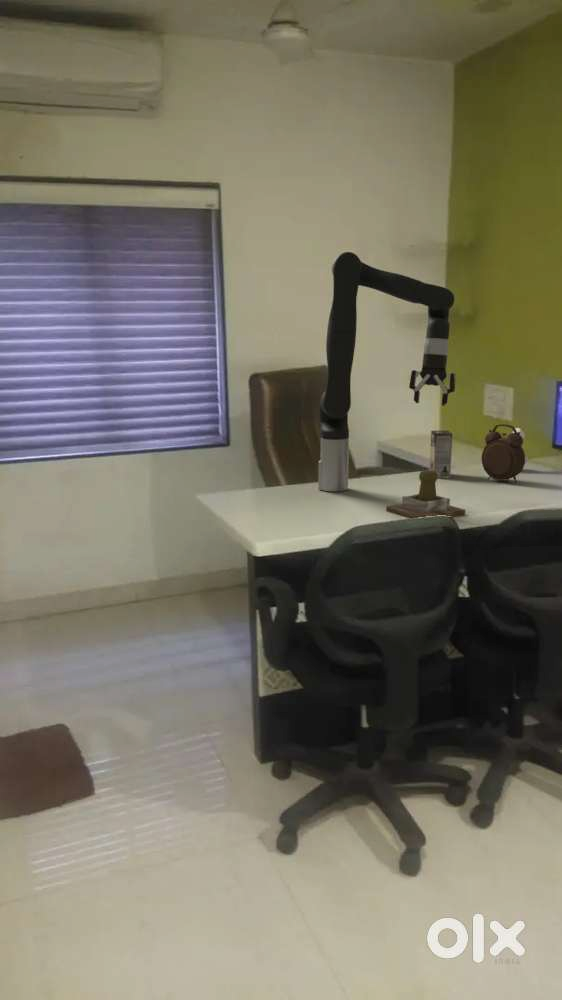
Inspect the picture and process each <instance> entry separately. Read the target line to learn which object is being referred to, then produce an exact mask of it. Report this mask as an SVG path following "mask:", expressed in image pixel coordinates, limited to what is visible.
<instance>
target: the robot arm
mask: <svg viewBox="0 0 562 1000" xmlns="http://www.w3.org/2000/svg"><path fill="white" fill-rule="evenodd" d="M331 272H332V275H333V276H332V277H333V278H332V279H333V281H332V282H333V293H332V295H333V296H332V301H331V302H332V304H331V306H330V307H331V308H330V312H329V315H328V323H327V330H326V345H325V346H326V347H325V348H326V351H325V352H326V353H325V354H326V362H327V381H326V388H325V391H324V392H322V395H321V397H320V399H319V401H320V402H319V430H320V460H318V488H317V489H318V491H319V490H320V491H321V490H322V491H325V492H334V493H335V492H337V493H338V492H345V491H347V490H348V489H349V449H350V448H349V447H350V446H349V445H350V443H349V442H350V430H349V429H350V428H349V423H348V421H349V420H348V418H349V415H348V414H349V411H350V409H351V406H352V397H351V396H352V393H351V378H352V377H351V376H352V370H353V364H354V363H353V362H354V355H355V349H356V348H355V347H356V337H357V323H358V322H357V319H358V317H357V299H358V290H359V286H361V287H364V288H365V287H366V288H368V289H372V290H375V291H378V292H382V293H384V294H387V295H389V296H392V297H394V298H398V299H400V300H403V301H406V302H409V303H412V304H421V305H423V306H424V307H425V306H426V307H427V325H426V335H425V342H424V346H423V355H422V356H423V357H422V366H421V370H420V371H418V370H412V371H411V374H410V378H409V379H410V380H409V385H408V386H409V389H411V390H413V391H414V394H413V401H414V402H415V404H419V403H420V395H421V389H422V388H423V387H424V386H425V385H426V386H435V387H437V386H439V388H440V389H441V391H442V392H443V393H442V399H441V406H442V407H444V406H446V405H447V404H448V398H449V394H451V393H454V392H455V390H456V373H453V372H452V373H447V362H448V354H449V338H450V337H449V336H450V327H451V326H450V322H449V314H450V309H451V308H452V307H453V306H454V303H455V295H454V293H453V292H452V291H451V290H450V289H449V288H446V287H443V286H440V285H436V284H431V283H428V282H427V283H426V282H423V281H421V280H418V279H416V278H413V277H410V276H407V275H403V274H399V273H395V272H390V271H388V270H387V271H386V270H384V269H383V270H382V269H380V268H375V267H373V266H370V265H368V264H367V263H365V262H363V261H361V259H360V257H359V256H358V255H357V254H355V253H354V252H352V251H344V252H342V253H339V255H337V256H336V257H335V258H334V260H333V262H332V265H331ZM419 376H420V378H421V380H420V381H419V383H418V384H417V385H416V381H417V378H418V377H419ZM446 378H447V379H448V381H449V388H448V387H447V385H446V384H445V382H444V380H445V379H446Z"/></svg>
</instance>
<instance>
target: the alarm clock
mask: <svg viewBox="0 0 562 1000" xmlns="http://www.w3.org/2000/svg"><path fill="white" fill-rule="evenodd" d="M499 427H507V428H510V429H512V430H513V431H514V433H512V432H513V431H512V432H510V433H509V434H508V435H507V433H506V432H505V433H504V432H502V433H500V432H499V431H496V430H497V429H498V428H499ZM515 428H516V427H514V426H513V425H510V424H502V423H501V424H496V425H495V426H494V427H493V429H489V430H488V433H487V434H486V435H485V437H484V443H485V444H486V445H485V446H484V448H483V450H482V453H481V464H482V468H483V470H484V471H485V473H486V474H487V475H488V478H487V480H490V479H491V478H492V479H493V480H497V481H501V480H502V481H503V480H506V481H507V483H508V484H509V483H510V481H509V479H513V480H514V482H515V483H518V481H517V479H516V478H517V477H516V476H518V475H519V474H521V473H522V471H523V469H524V467H525V465H526V464H525V455H526V454H525V451H524V449H523V443H524V439H523V438H522V436H521V435H519V434H520V432H518V433H517V431H516V429H515Z"/></svg>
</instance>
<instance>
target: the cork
mask: <svg viewBox="0 0 562 1000" xmlns="http://www.w3.org/2000/svg"><path fill="white" fill-rule="evenodd" d="M418 479H419V481H420V485H419V492H418V494H419V496H418V500H420V501H424V502H428V501H434V500H437V497H436V495H437V489H436V488H437V487H436V482H437V480H438V478H437V473H436V472H435V471H432V470H430V469H426V470H422V471H420V472H419V474H418Z"/></svg>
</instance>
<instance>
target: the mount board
mask: <svg viewBox="0 0 562 1000" xmlns="http://www.w3.org/2000/svg"><path fill="white" fill-rule="evenodd" d="M418 496H419V493H418V494H411V495H405V496H402V498H401V503H396V504H391V505H386V508H385V509H386V511H385V512H388V513H391V514H395V515H397V516H402V517H405V518H408V519H411V518H418V517H426V516H437V515H446V516H451V518H456V517H461V516H464V515H465V516H466V509H465V508H460V507H456V506H453V505H450V503H451V501H450V500H451V499H450V498H448V497H444V496H440V495H437V494H436V497H437V500H434V501H428V502H424V501H420V500H418Z"/></svg>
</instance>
